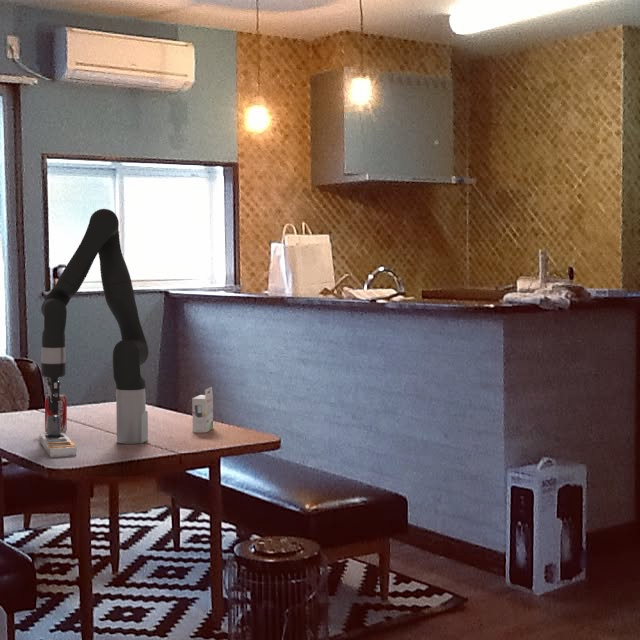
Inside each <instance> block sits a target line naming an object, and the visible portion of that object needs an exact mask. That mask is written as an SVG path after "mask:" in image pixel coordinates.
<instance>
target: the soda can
mask: <svg viewBox="0 0 640 640" xmlns="http://www.w3.org/2000/svg"><path fill="white" fill-rule="evenodd" d="M56 397H57V396H56ZM66 397H67V396H66V394H64V393H60V401H59V402H58V414H51V410H49V409H48V397H47V394H46V395H45V400H44V432H45V434H48V416H49V415H60V416H61V433H65V434H66V432H67V430H68V428H67V427H68V426H67V425H68V418H67V416H68V415H67V414H68V413H67V412H68V411H67V410H68V402H67V401H68V399H67V398H66Z"/></svg>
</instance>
